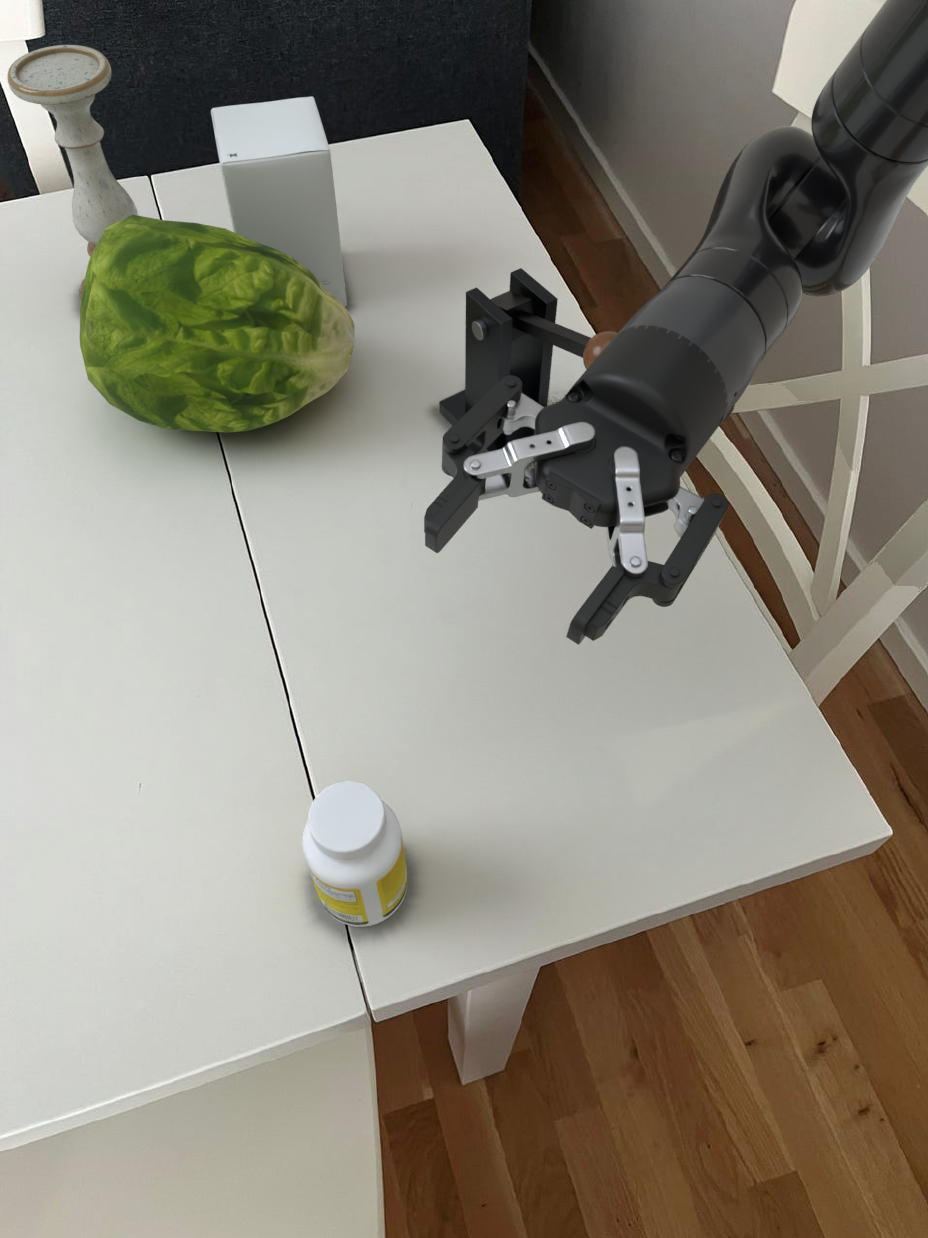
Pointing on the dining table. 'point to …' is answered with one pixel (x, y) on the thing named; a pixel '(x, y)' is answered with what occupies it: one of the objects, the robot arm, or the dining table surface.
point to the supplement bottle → (355, 854)
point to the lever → (550, 329)
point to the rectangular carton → (282, 183)
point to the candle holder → (76, 129)
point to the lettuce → (207, 327)
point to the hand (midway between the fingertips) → (501, 587)
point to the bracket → (503, 353)
